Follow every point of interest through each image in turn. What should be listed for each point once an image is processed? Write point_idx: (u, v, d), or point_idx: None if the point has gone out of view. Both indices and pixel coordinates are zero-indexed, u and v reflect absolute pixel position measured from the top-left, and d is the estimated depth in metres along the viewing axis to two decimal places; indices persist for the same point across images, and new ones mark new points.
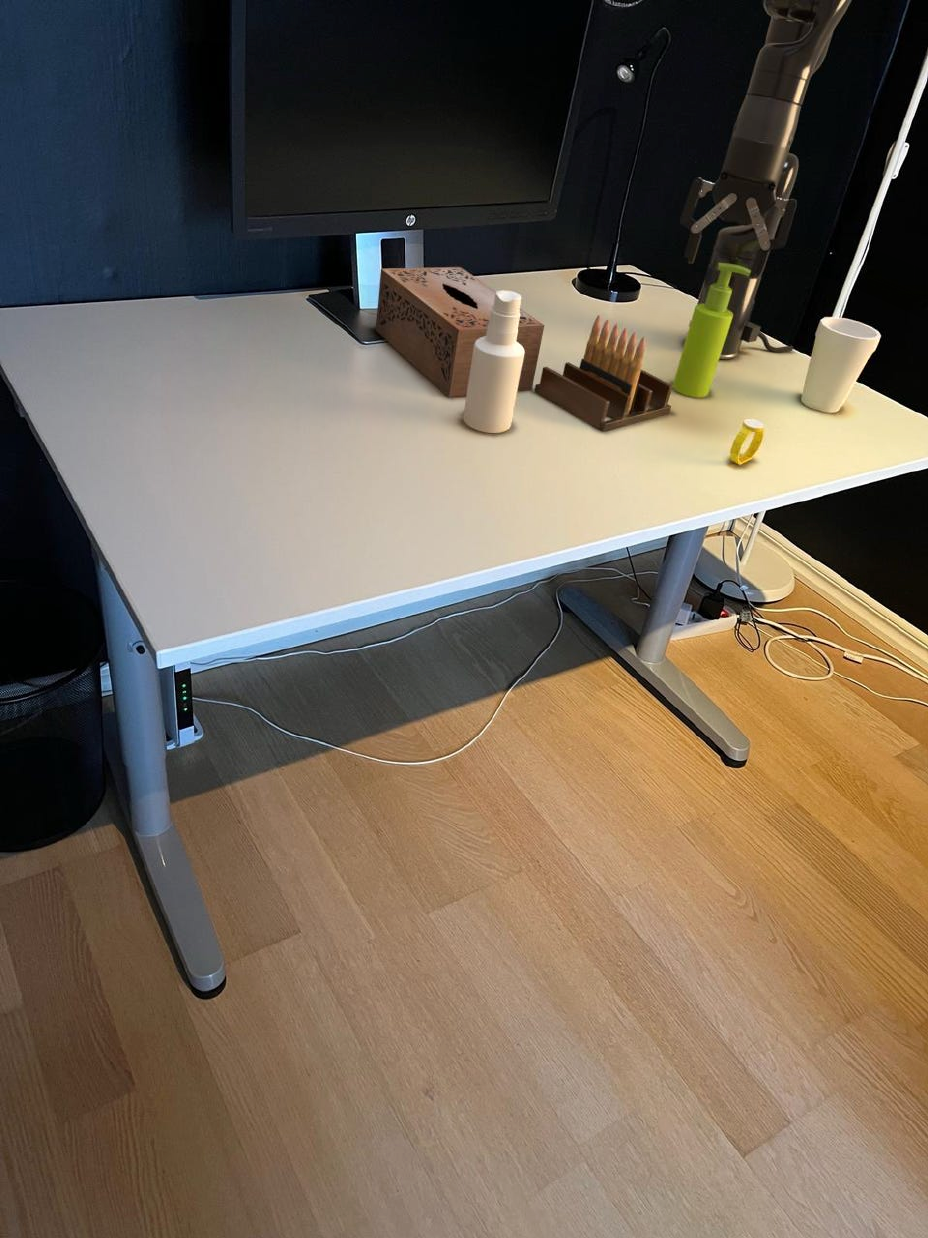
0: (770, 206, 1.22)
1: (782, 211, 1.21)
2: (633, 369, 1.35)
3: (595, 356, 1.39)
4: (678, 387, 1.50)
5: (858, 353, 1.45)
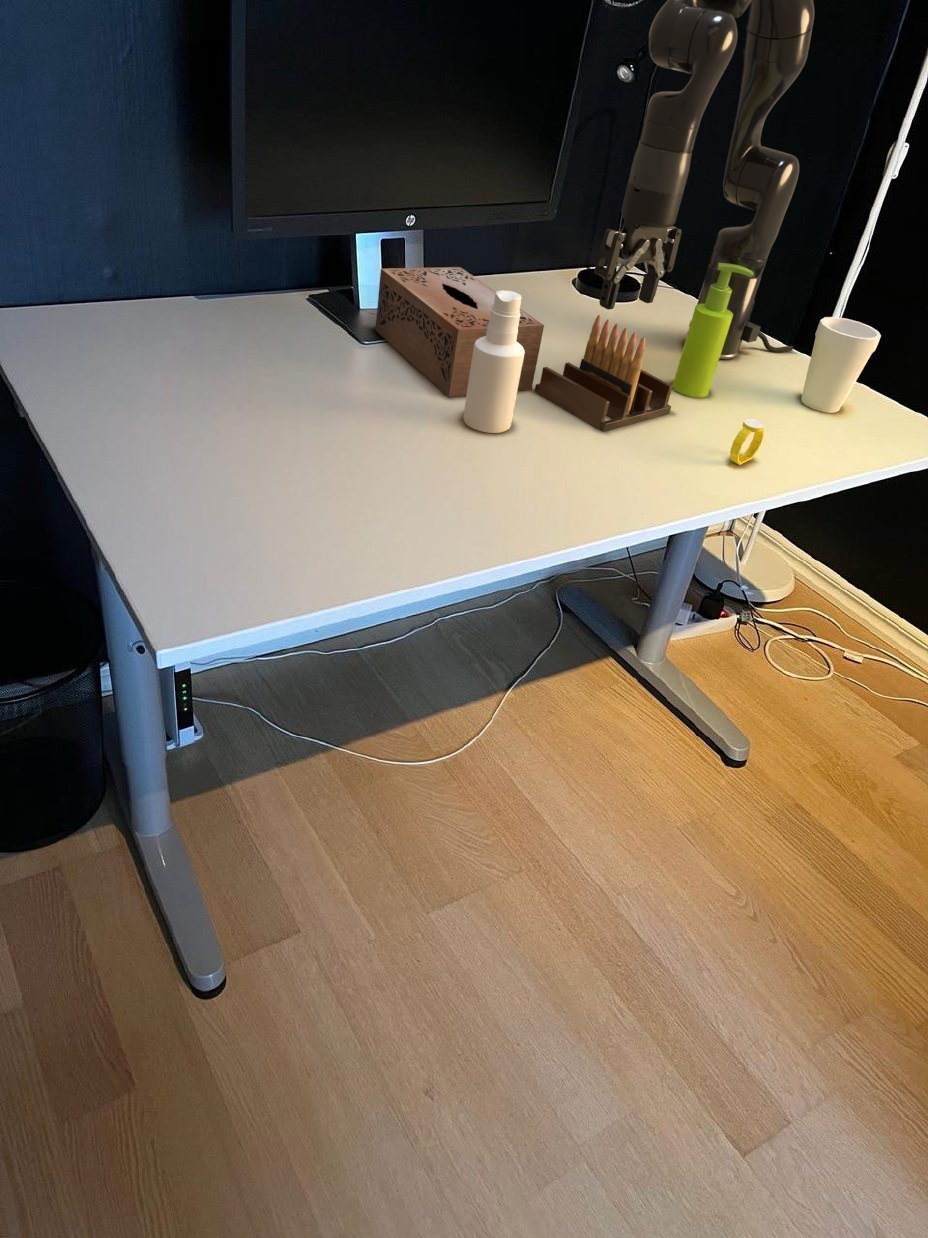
0: (664, 239, 1.30)
1: (673, 241, 1.31)
2: (633, 369, 1.35)
3: (595, 356, 1.39)
4: (678, 387, 1.50)
5: (858, 353, 1.45)
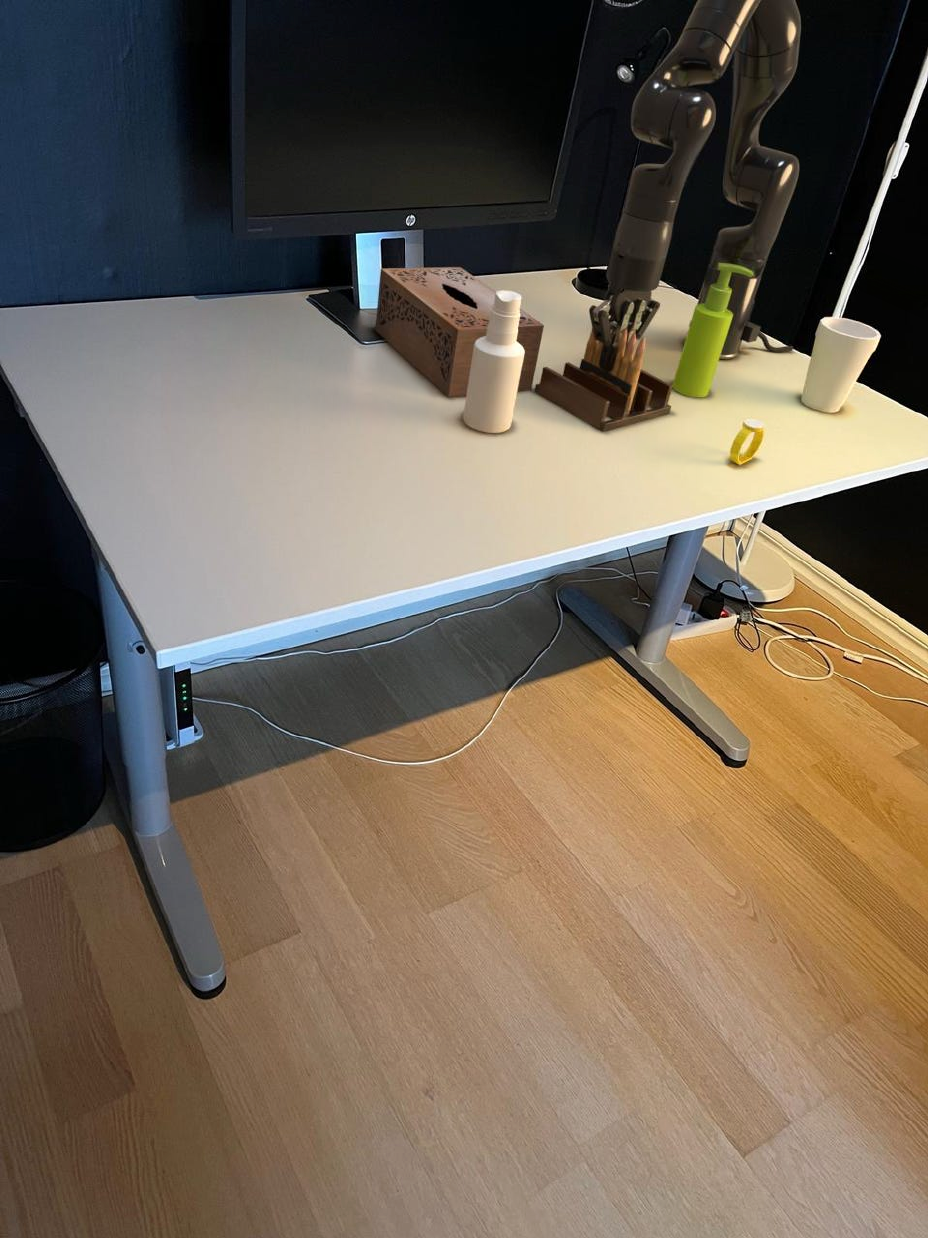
0: (649, 300, 1.35)
1: (651, 310, 1.36)
2: (633, 369, 1.35)
3: (595, 356, 1.39)
4: (678, 387, 1.50)
5: (858, 353, 1.45)
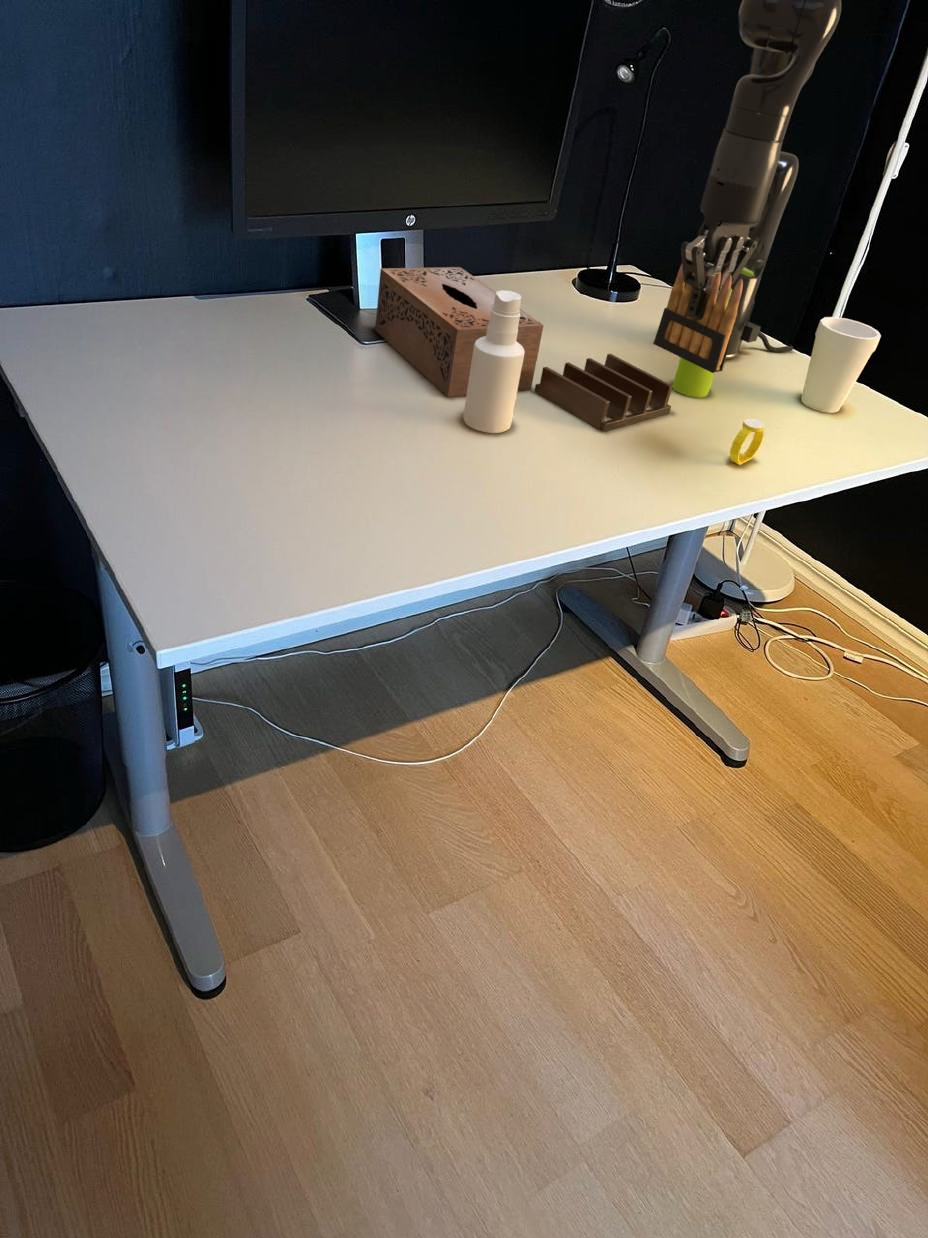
0: (746, 238, 1.18)
1: (747, 249, 1.19)
2: (727, 317, 1.19)
3: (681, 304, 1.23)
4: (678, 387, 1.50)
5: (858, 353, 1.45)
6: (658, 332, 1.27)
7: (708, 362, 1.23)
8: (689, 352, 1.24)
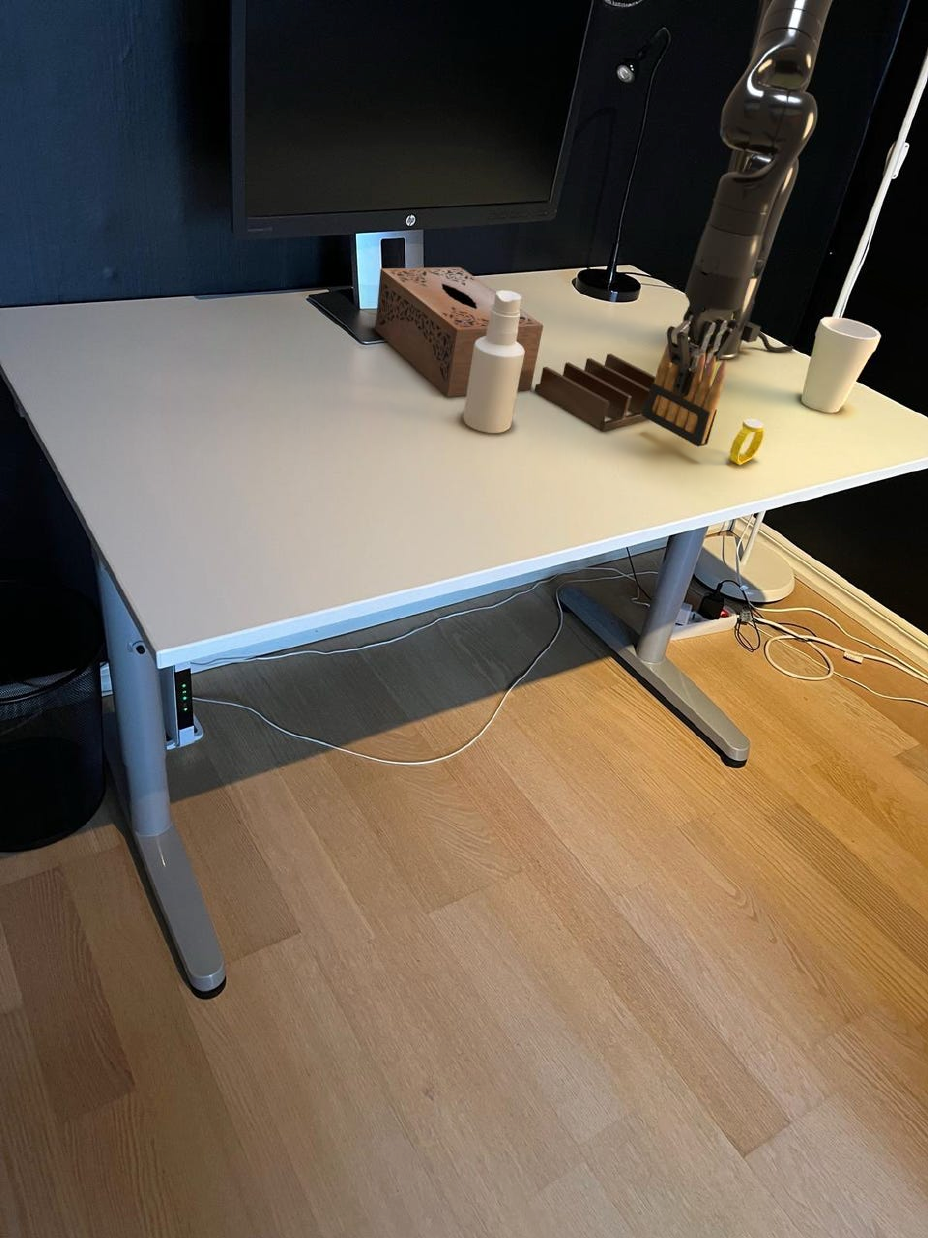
0: (729, 320, 1.24)
1: (731, 330, 1.25)
2: (712, 395, 1.24)
3: (668, 380, 1.28)
4: None
5: (858, 353, 1.45)
6: (646, 405, 1.32)
7: (694, 436, 1.28)
8: (675, 426, 1.30)
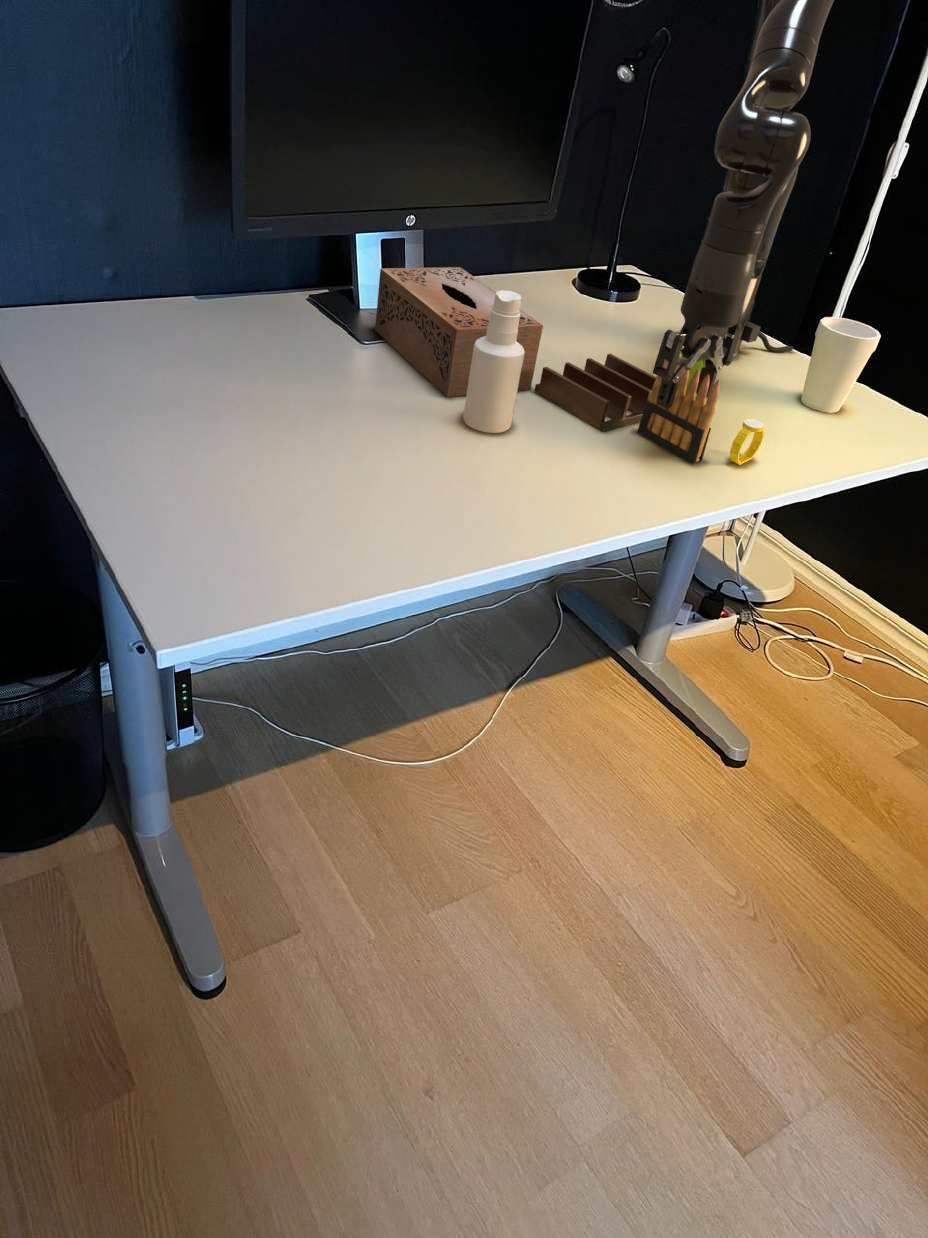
0: (724, 336, 1.25)
1: (732, 336, 1.26)
2: (706, 414, 1.25)
3: None
4: None
5: (858, 353, 1.45)
6: (641, 422, 1.34)
7: (688, 454, 1.29)
8: (670, 443, 1.31)
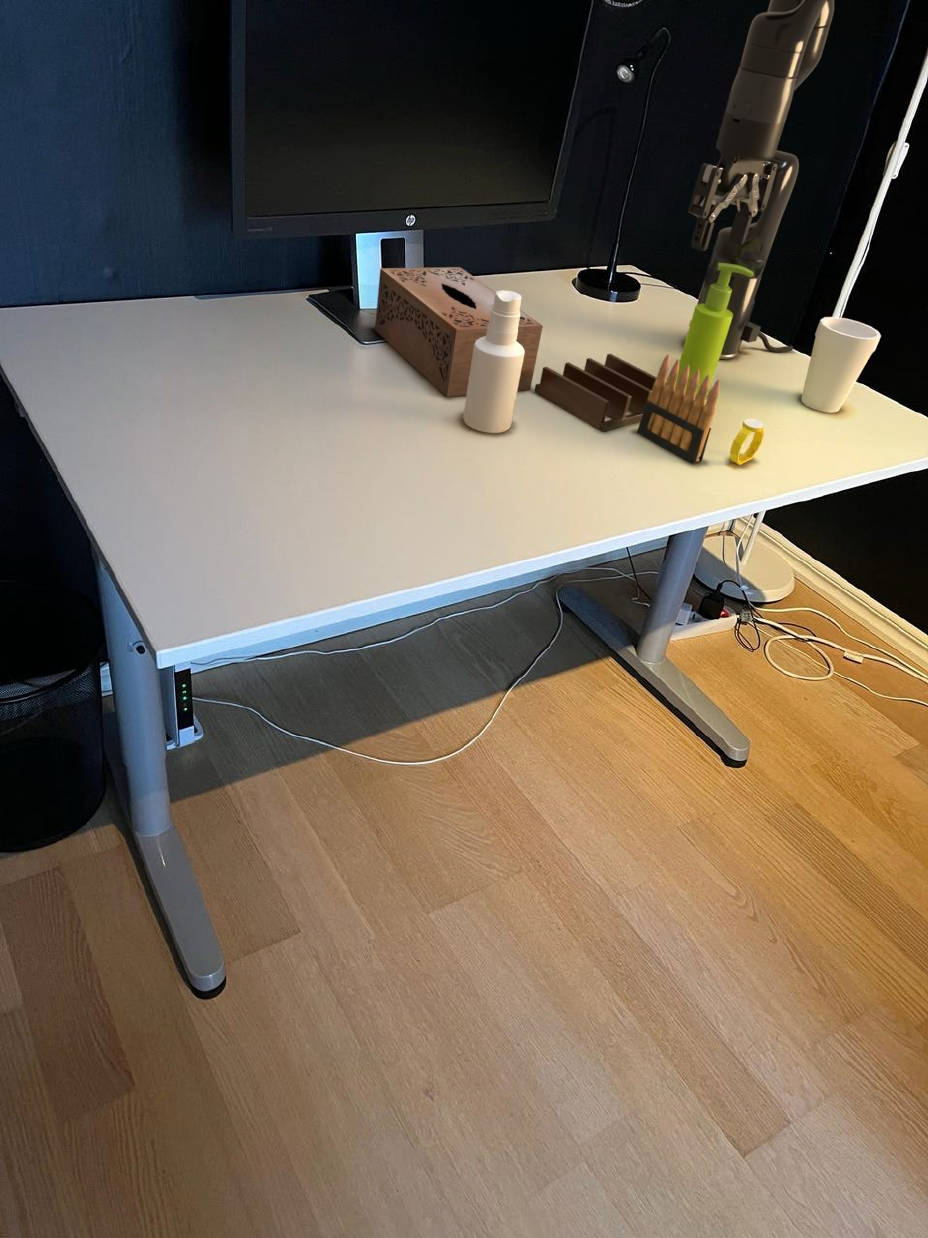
0: (760, 175, 1.23)
1: (768, 177, 1.24)
2: (706, 414, 1.25)
3: (663, 398, 1.30)
4: None
5: (858, 353, 1.45)
6: (641, 422, 1.34)
7: (688, 454, 1.29)
8: (670, 443, 1.31)
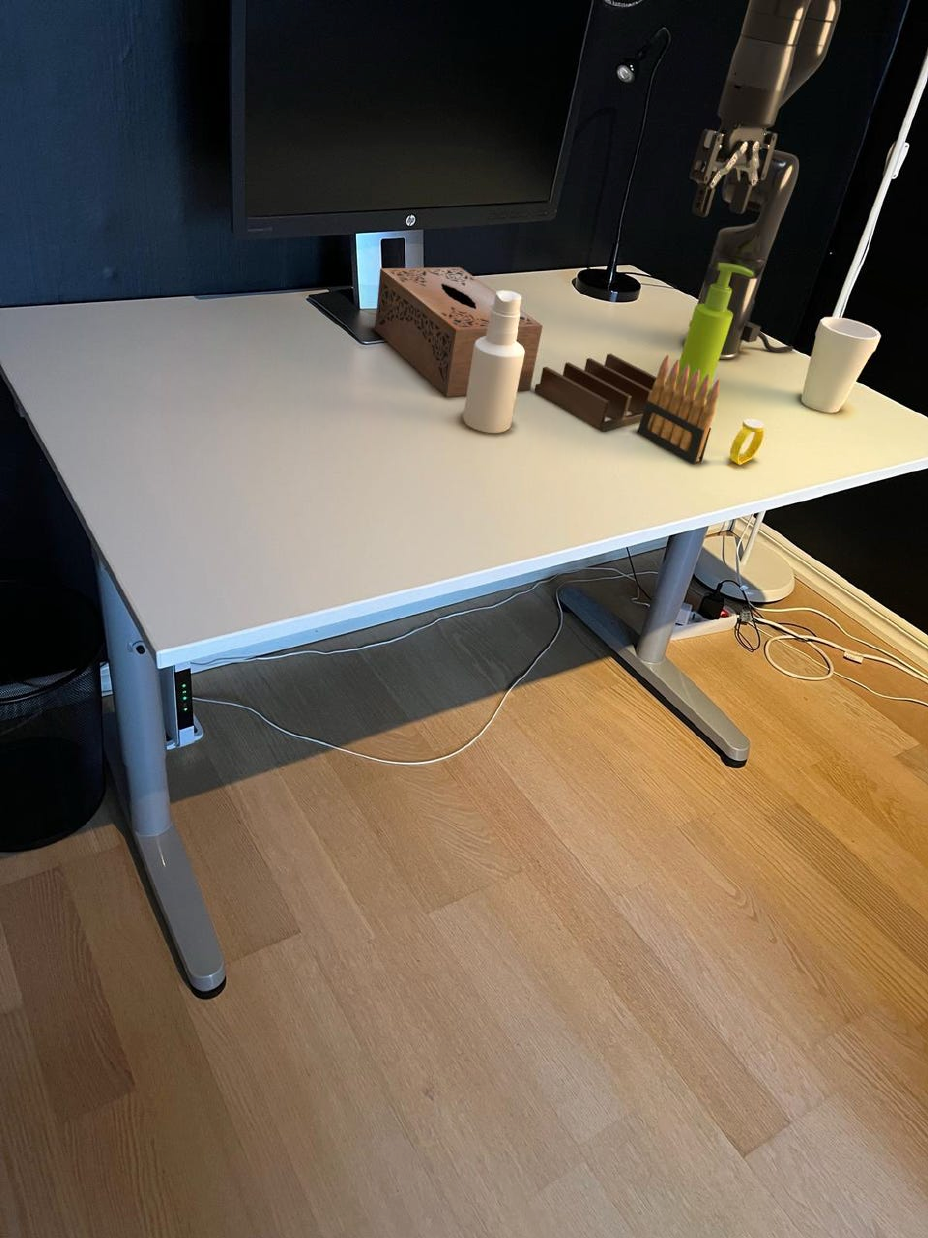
0: (760, 144, 1.25)
1: (768, 146, 1.26)
2: (706, 414, 1.25)
3: (663, 398, 1.30)
4: None
5: (858, 353, 1.45)
6: (641, 422, 1.34)
7: (688, 454, 1.29)
8: (670, 443, 1.31)
